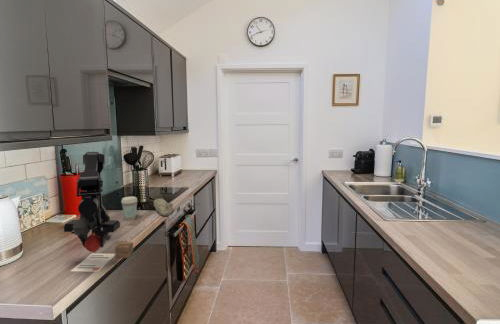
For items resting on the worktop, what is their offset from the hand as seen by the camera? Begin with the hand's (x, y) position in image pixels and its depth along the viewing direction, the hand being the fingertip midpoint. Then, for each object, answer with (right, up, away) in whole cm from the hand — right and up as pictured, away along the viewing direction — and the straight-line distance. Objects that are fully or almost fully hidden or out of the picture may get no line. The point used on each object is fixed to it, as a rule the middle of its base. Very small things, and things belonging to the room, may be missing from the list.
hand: (93, 247), depth 107 cm
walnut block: (+9, -6, +7) cm, 13 cm away
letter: (0, -6, +1) cm, 6 cm away
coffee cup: (-8, 0, +51) cm, 52 cm away
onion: (0, -2, 0) cm, 2 cm away
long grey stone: (+4, +2, +71) cm, 71 cm away
